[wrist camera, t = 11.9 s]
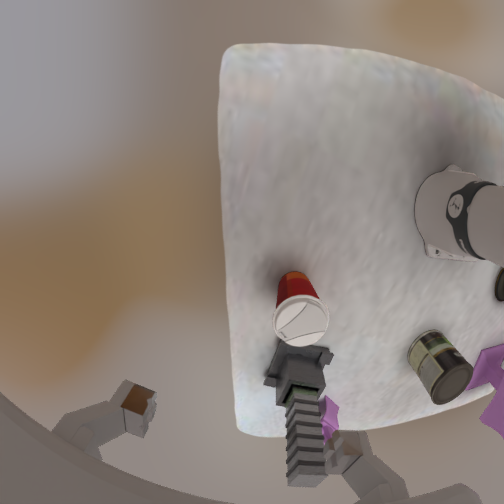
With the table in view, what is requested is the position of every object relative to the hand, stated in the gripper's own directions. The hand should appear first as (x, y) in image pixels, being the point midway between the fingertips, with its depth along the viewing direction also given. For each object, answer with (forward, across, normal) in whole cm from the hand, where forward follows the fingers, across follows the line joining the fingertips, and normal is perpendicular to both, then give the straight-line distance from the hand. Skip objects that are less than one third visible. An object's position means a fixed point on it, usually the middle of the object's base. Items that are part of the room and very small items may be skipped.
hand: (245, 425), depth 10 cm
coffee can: (+38, -42, +14) cm, 58 cm away
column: (+27, -13, +23) cm, 38 cm away
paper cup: (+37, -7, +6) cm, 39 cm away
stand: (+37, -13, +22) cm, 45 cm away
